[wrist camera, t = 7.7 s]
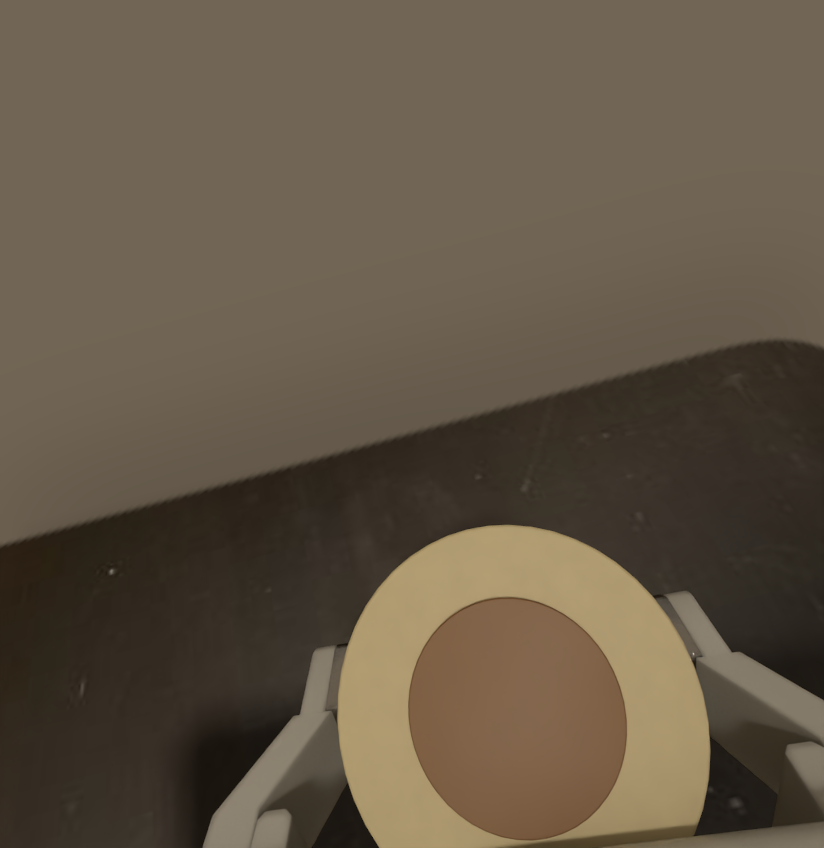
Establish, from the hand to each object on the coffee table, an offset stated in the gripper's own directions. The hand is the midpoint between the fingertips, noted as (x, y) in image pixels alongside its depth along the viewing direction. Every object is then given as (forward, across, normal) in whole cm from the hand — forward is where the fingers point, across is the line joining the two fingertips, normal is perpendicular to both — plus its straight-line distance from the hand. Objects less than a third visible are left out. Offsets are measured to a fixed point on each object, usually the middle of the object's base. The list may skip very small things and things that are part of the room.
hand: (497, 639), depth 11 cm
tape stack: (+3, 0, +4) cm, 5 cm away
